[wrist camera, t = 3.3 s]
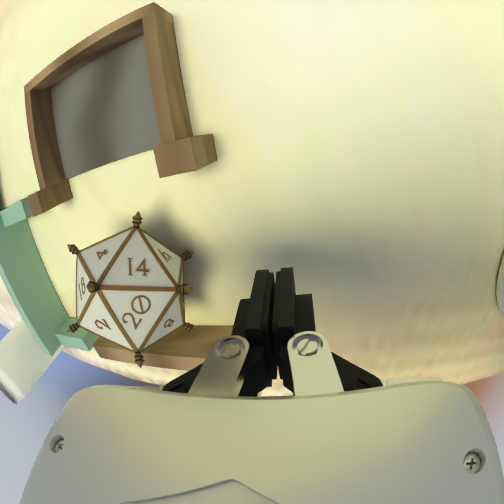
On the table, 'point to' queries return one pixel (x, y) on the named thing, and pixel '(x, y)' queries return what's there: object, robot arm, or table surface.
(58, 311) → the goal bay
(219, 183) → the table surface
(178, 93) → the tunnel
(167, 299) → the game die
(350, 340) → the table surface
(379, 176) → the table surface
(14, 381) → the can
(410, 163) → the table surface
